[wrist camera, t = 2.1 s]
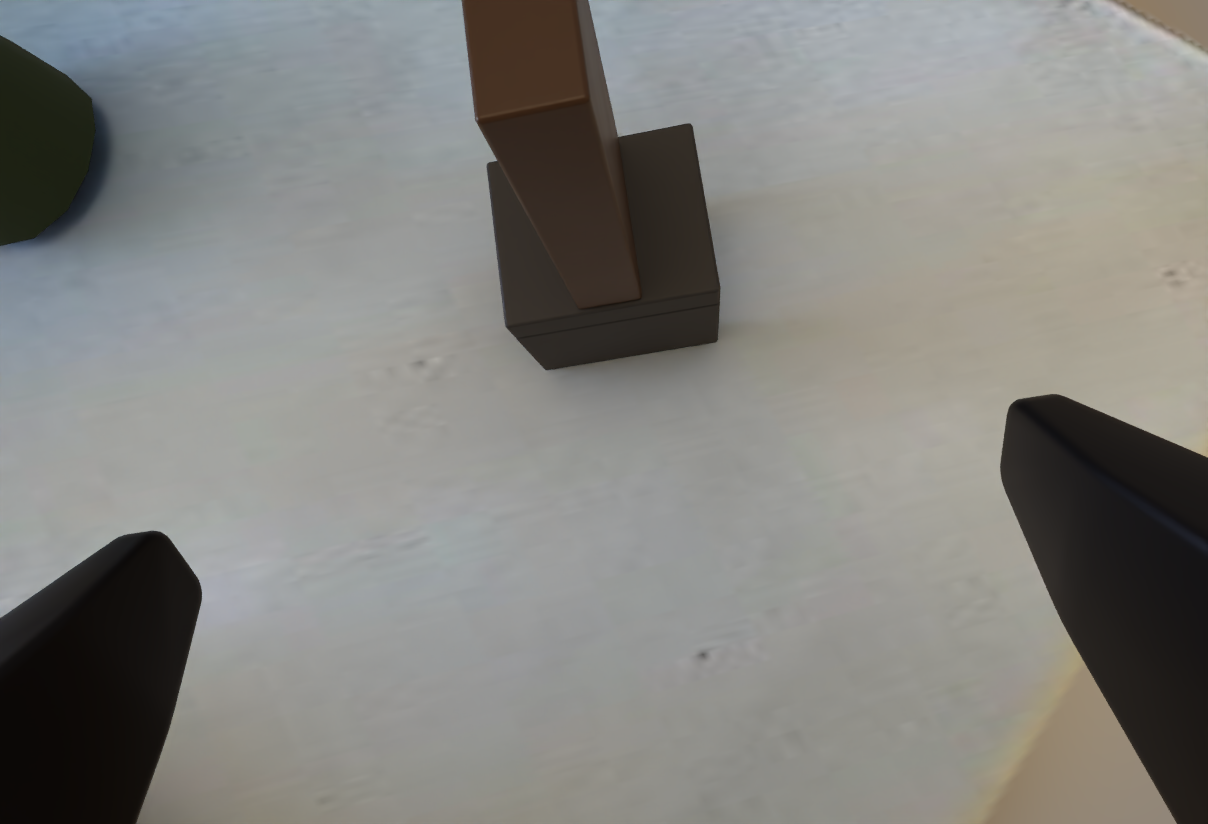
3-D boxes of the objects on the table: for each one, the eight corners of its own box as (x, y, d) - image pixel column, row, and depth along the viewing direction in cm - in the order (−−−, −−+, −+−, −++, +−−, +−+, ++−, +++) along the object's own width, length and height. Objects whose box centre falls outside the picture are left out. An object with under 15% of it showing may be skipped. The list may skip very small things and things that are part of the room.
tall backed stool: (718, 342, 21) (733, 78, 9) (544, 371, 22) (343, 156, 10) (694, 204, 22) (680, -208, 10) (528, 235, 23) (321, -120, 11)
